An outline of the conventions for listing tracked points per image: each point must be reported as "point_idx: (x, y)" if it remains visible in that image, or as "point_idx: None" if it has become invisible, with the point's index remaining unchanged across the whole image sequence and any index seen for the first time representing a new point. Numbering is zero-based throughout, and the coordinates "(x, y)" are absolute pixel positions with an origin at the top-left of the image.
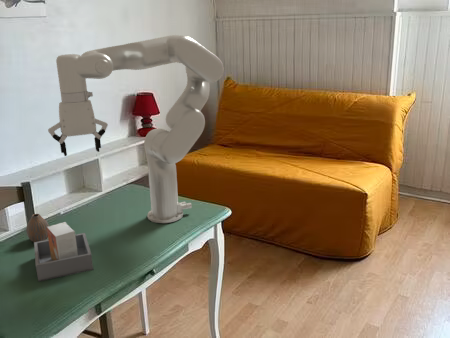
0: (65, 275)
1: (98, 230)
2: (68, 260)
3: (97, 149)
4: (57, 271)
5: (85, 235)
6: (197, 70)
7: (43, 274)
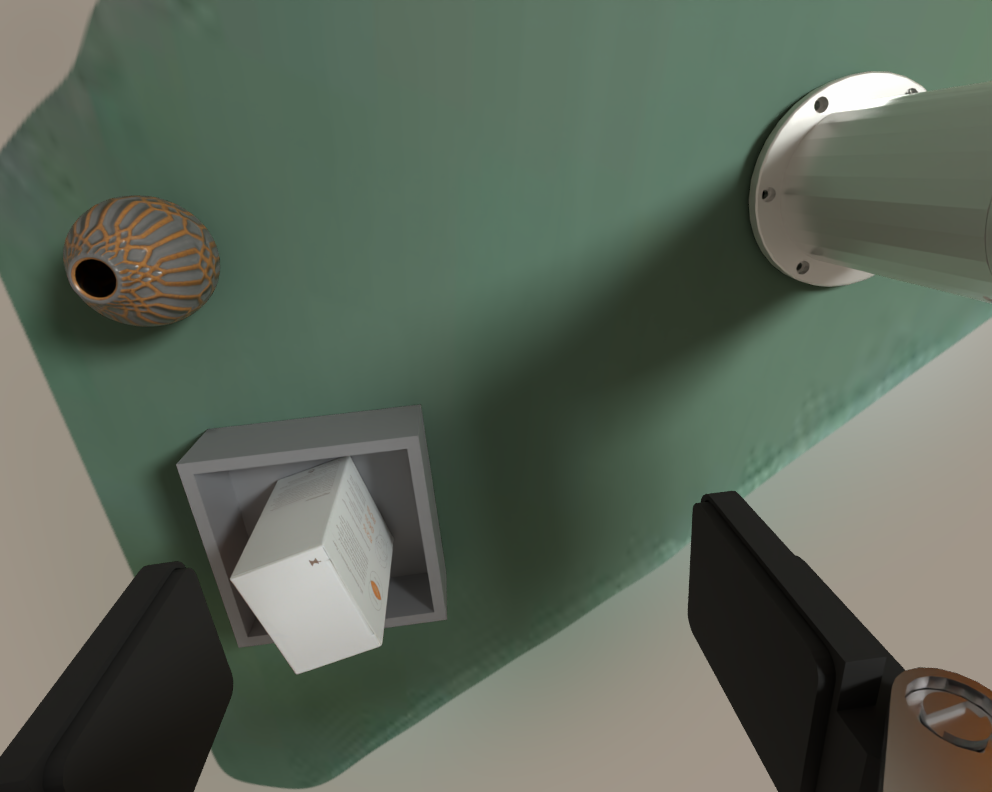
0: None
1: (478, 242)
2: None
3: (711, 649)
4: None
5: (421, 463)
6: None
7: None
